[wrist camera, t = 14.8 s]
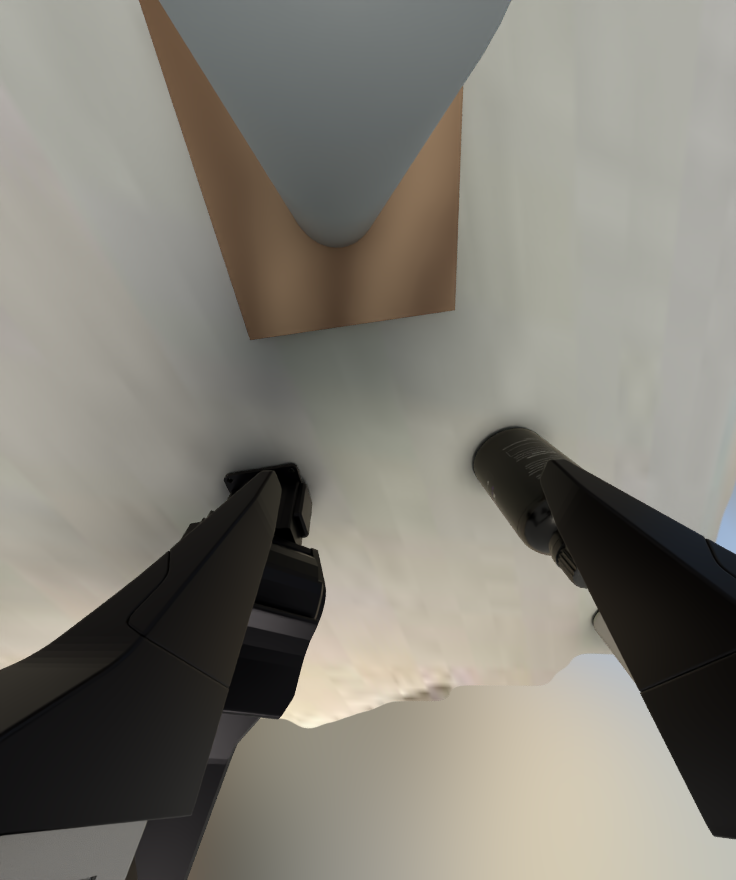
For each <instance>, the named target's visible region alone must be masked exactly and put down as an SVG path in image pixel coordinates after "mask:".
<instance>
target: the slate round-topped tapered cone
mask: <svg viewBox="0 0 736 880" xmlns="http://www.w3.org/2000/svg"><path fill="white" fill-rule="evenodd" d="M159 2H160V3H161V5H162V7H163V8H164V10H165V11H166V13H167V15H168V16H169V18H170V19H171V21H172V23H173V24H174V26H175V28H176V29H177V31H178V32H179V34H180V36H181V37H182V39H183V40H184V42H185V44H186V45H187V47H188V48H189V50H190V52H191V53H192V55H193V56H194V58H195V60H196V61H197V63H198V64H199V66H200V68H201V69H202V71H203V72H204V74H205V76H206V77H207V79H208V81H209V82H210V84H211V85H212V87H213V89H214V90H215V92H216V93H217V95H218V97H219V98H220V100H221V101H222V103H223V105H224V106H225V108H226V109H227V111H228V113H229V114H230V116H231V117H232V119H233V121H234V122H235V124H236V125H237V127H238V129H239V130H240V132H241V133H242V135H243V137H244V138H245V140H246V142H247V143H248V145H249V146H250V148H251V150H252V151H253V153H254V154H255V156H256V158H257V159H258V161H259V162H260V164H261V166H262V167H263V169H264V170H265V172H266V174H267V175H268V177H269V178H270V180H271V182H272V183H273V185H274V186H275V188H276V190H277V191H278V193H279V194H280V196H281V198H282V199H283V201H284V203H285V204H286V206H287V207H288V209H289V211H290V212H291V214H292V215H293V217H294V219H295V220H296V222H297V223H298V225H299V226H300V228H301V229H302V230H303V231H304V232H305V233H306V234H307V235H308V236H309V237H310V238H311V239H313V240H314V241H316V242H318V243H320V244H322V245H324V246H328V247H335V248H338V247H345V246H349V245H351V244H353V243H355V242H357V241H358V240H359V239H361V238H362V237H363V236H364V235H365V234H366V233H367V231H368V230H369V229H370V227H371V226H372V224H373V223H374V221H375V220H376V218H377V217H378V215H379V214H380V212H381V210H382V209H383V207H384V206H385V204H386V203H387V201H388V200H389V198H390V197H391V195H392V194H393V192H394V190H395V189H396V187H397V186H398V184H399V183H400V181H401V180H402V178H403V177H404V175H405V174H406V172H407V170H408V169H409V167H410V166H411V164H412V163H413V161H414V160H415V158H416V157H417V155H418V154H419V152H420V151H421V149H422V147H423V146H424V144H425V143H426V141H427V140H428V138H429V137H430V135H431V134H432V132H433V131H434V129H435V127H436V126H437V124H438V123H439V121H440V120H441V118H442V117H443V115H444V114H445V112H446V111H447V109H448V107H449V106H450V104H451V103H452V101H453V100H454V98H455V97H456V95H457V94H458V92H459V91H460V89H461V88H462V86H463V84H464V83H465V81H466V80H467V78H468V77H469V75H470V74H471V72H472V71H473V69H474V68H475V66H476V64H477V63H478V61H479V60H480V58H481V57H482V55H483V54H484V52H485V50H486V48H487V47H488V45H489V43H490V41H491V39H492V38H493V36H494V34H495V32H496V31H497V29H498V27H499V25H500V24H501V21H502V19H503V17H504V15H505V13H506V11H507V8H508V6H509V4H510V2H511V0H159Z"/></svg>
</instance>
